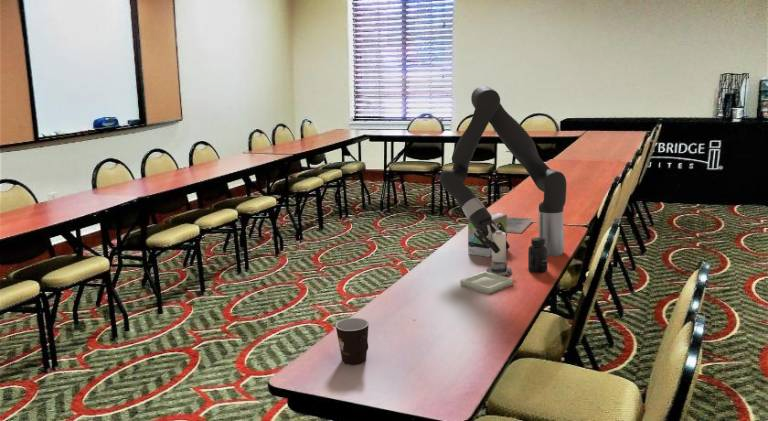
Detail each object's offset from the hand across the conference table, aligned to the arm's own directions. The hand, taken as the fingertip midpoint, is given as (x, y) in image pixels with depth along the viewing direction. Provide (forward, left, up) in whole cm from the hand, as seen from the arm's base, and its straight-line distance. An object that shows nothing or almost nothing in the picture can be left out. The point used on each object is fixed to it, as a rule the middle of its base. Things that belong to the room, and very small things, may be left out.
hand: (502, 250), depth 232 cm
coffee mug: (+82, +16, -9) cm, 84 cm away
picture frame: (-57, -41, -10) cm, 71 cm away
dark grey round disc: (0, -2, -9) cm, 9 cm away
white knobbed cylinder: (0, -2, -4) cm, 5 cm away
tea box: (-19, -23, -9) cm, 31 cm away
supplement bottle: (-11, +7, -9) cm, 16 cm away
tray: (+13, +3, -9) cm, 16 cm away
